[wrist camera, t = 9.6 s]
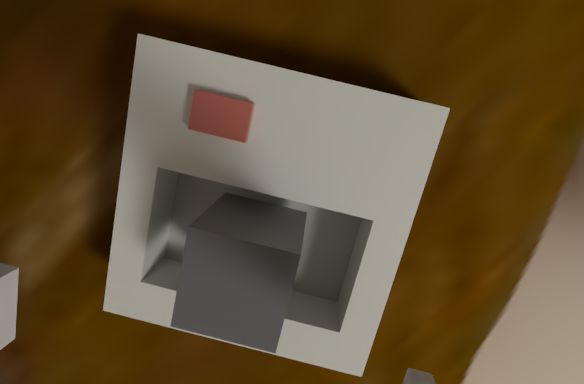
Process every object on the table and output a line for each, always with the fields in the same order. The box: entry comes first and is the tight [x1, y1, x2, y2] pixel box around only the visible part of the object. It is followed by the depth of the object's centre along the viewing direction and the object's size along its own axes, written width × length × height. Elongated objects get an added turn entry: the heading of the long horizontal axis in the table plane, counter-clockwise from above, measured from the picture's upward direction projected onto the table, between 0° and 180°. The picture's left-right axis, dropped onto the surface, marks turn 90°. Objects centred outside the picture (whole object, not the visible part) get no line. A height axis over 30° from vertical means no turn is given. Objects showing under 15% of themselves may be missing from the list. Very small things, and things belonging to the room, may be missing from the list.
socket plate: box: [103, 33, 450, 377], centre depth 22 cm, size 16×16×5 cm
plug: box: [171, 192, 307, 353], centre depth 21 cm, size 5×5×8 cm
